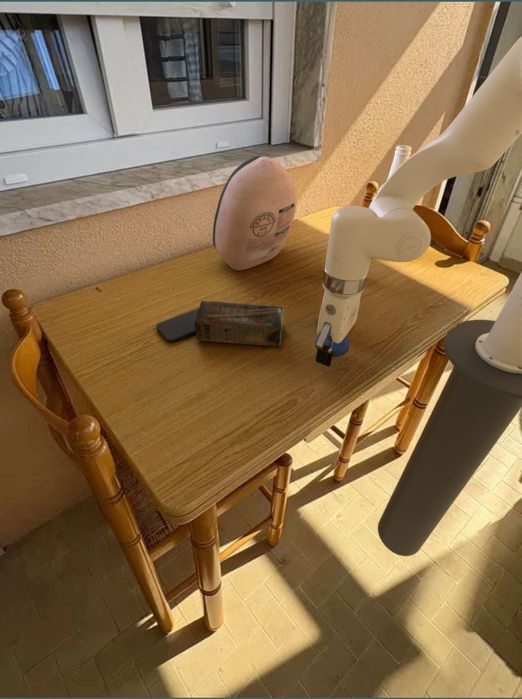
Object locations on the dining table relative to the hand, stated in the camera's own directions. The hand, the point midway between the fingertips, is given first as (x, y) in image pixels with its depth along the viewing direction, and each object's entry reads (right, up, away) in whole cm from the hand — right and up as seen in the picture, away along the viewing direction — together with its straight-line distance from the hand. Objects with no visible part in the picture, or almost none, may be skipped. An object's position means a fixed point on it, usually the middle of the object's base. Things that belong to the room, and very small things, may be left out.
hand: (330, 352), depth 80 cm
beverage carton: (-19, +4, +8) cm, 21 cm away
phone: (-31, +7, +10) cm, 34 cm away
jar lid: (0, +2, -2) cm, 3 cm away
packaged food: (-16, +26, +33) cm, 45 cm away
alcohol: (+22, +31, +39) cm, 55 cm away
